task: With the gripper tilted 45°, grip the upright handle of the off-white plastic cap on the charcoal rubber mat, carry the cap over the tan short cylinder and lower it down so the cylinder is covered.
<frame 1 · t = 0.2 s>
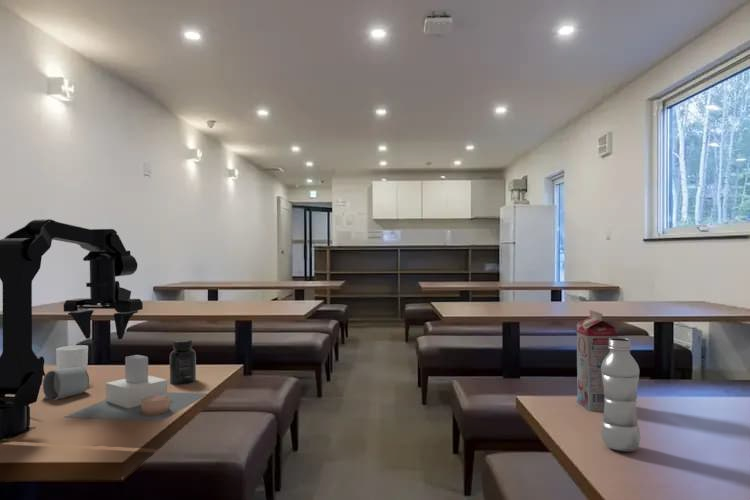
hand: (104, 338, 130), 15 cm above the table, tool pointing down, fingers open, 9 cm apart
plastic bottle: (620, 449, 92), on the table
white cup: (72, 383, 143), on the table
tan short cylinder: (155, 411, 115), resting on mat
juice carton: (597, 407, 118), on the table
supplement bottle: (183, 384, 142), on the table
cover: (136, 399, 124), point 1 cm above the table, touching mat
ceramic mug: (62, 397, 129), on the table
mat: (141, 406, 120), on the table
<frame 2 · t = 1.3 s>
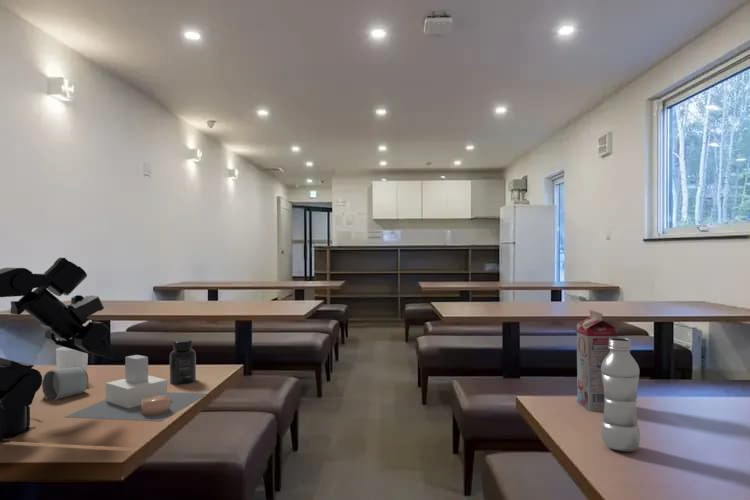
hand: (102, 355, 118), 13 cm above the table, tool tilted 45°, fingers open, 9 cm apart
nothing on the table moved.
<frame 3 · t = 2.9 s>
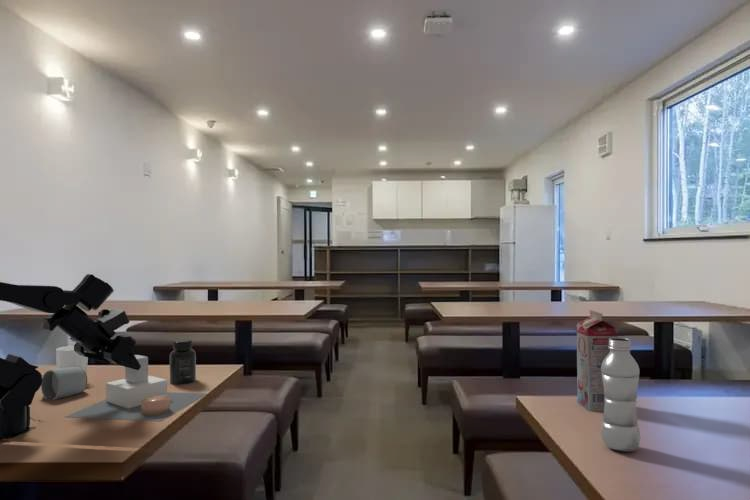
hand: (129, 366, 123), 9 cm above the table, tool tilted 45°, fingers open, 9 cm apart
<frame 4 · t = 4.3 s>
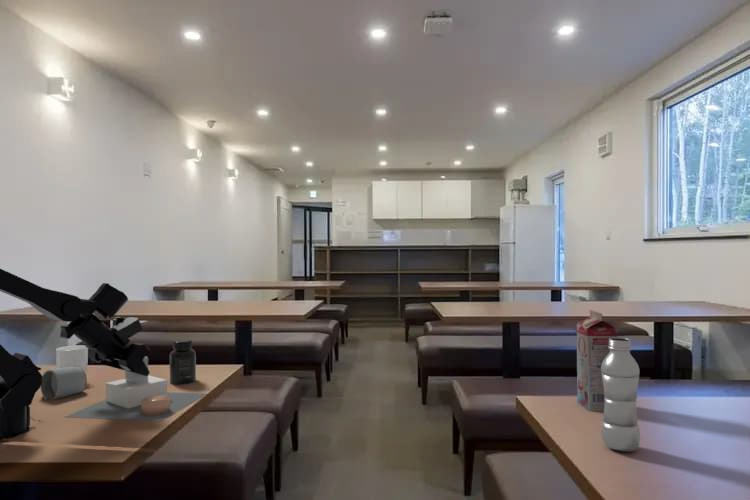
hand: (142, 372, 125), 7 cm above the table, tool tilted 45°, fingers closed on cover, 5 cm apart
cover: (136, 399, 124), point 1 cm above the table, touching gripper, mat
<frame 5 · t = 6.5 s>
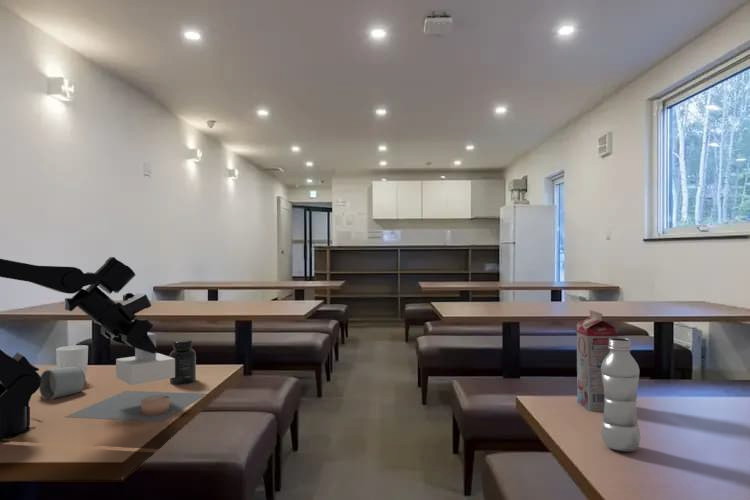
hand: (151, 350, 122), 13 cm above the table, tool tilted 45°, fingers closed on cover, 5 cm apart
cover: (145, 377, 121), point 7 cm above the table, touching gripper
when the fingers open (8 cm above the table, at t = 8.9 s): cover drops 1 cm, resting on mat.
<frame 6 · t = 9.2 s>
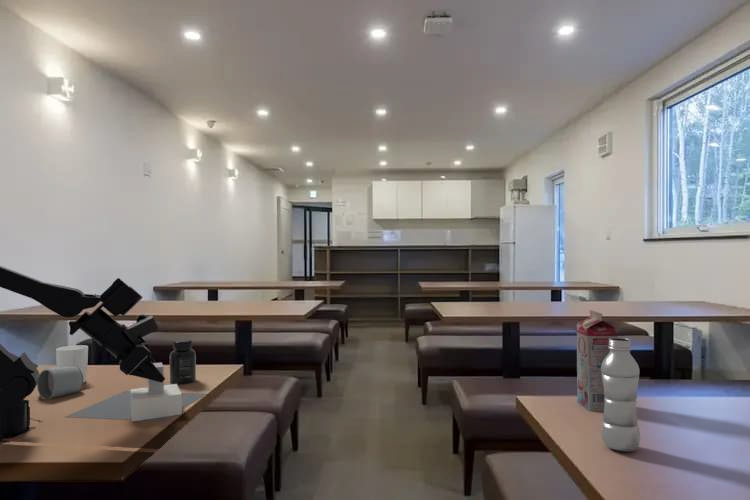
hand: (162, 376, 115), 8 cm above the table, tool tilted 45°, fingers open, 8 cm apart
cover: (155, 411, 115), point 1 cm above the table, touching mat
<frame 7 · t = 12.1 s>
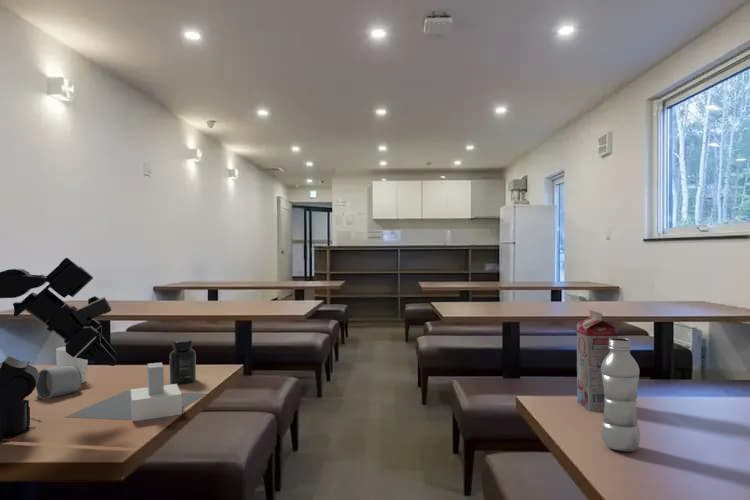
hand: (115, 360, 111), 13 cm above the table, tool tilted 45°, fingers open, 9 cm apart
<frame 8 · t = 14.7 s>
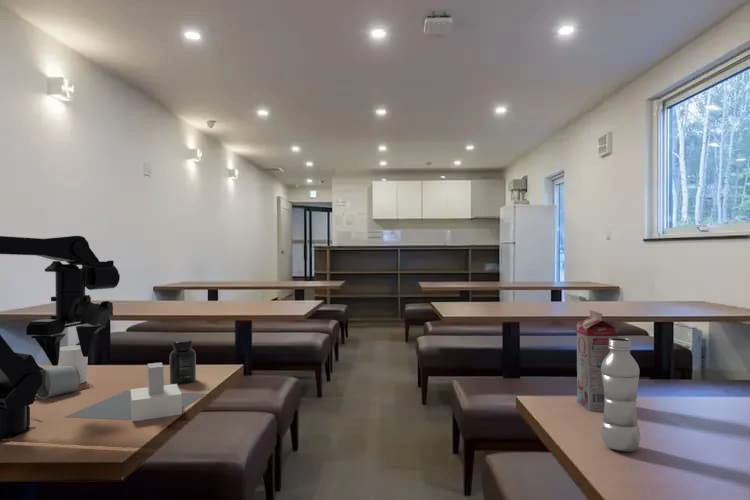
hand: (71, 360, 113), 12 cm above the table, tool pointing down, fingers open, 9 cm apart
at the end: cover 0.0 cm from the tan short cylinder (horizontally); cover point 0.6 cm above the table; cover tilted 0° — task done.
